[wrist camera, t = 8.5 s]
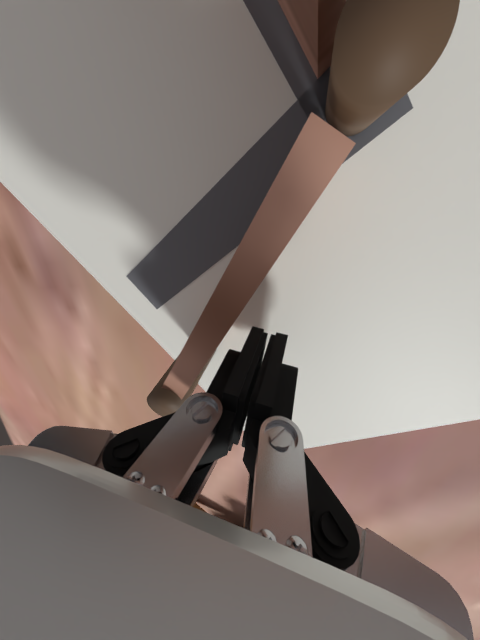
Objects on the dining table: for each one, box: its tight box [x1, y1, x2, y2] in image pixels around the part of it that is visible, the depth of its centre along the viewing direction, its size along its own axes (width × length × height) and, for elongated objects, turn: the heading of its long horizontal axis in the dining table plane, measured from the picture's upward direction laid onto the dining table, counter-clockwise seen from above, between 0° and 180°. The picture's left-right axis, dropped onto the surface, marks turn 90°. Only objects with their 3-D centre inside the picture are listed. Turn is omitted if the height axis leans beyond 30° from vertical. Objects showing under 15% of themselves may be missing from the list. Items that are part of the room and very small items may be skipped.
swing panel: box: [147, 112, 356, 417], centre depth 9 cm, size 11×2×4 cm, turn 152°
